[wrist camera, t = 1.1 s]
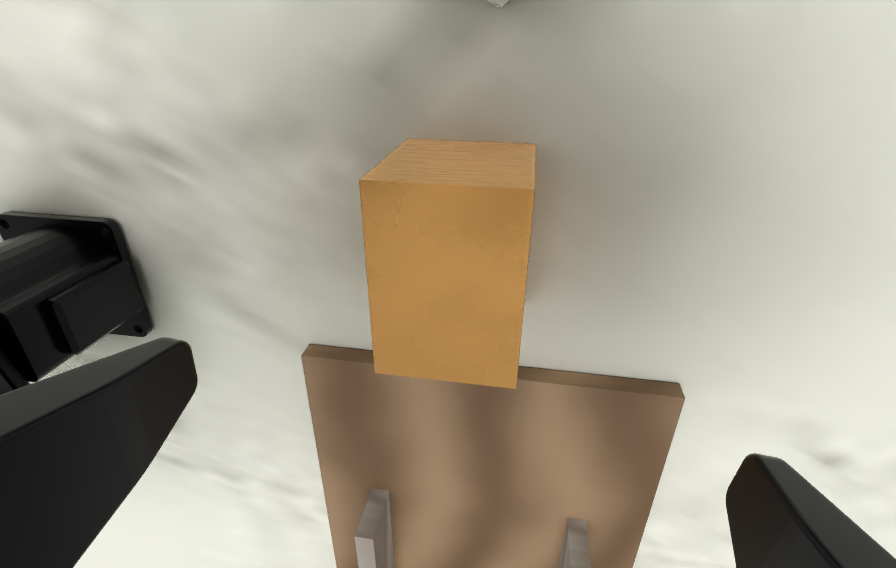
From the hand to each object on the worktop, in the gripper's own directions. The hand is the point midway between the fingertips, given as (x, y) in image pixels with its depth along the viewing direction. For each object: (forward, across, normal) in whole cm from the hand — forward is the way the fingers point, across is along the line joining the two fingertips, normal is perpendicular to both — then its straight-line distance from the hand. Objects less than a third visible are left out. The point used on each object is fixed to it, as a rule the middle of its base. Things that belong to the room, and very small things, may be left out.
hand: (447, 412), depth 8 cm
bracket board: (+13, -1, +20) cm, 24 cm away
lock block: (+13, +1, +2) cm, 13 cm away
